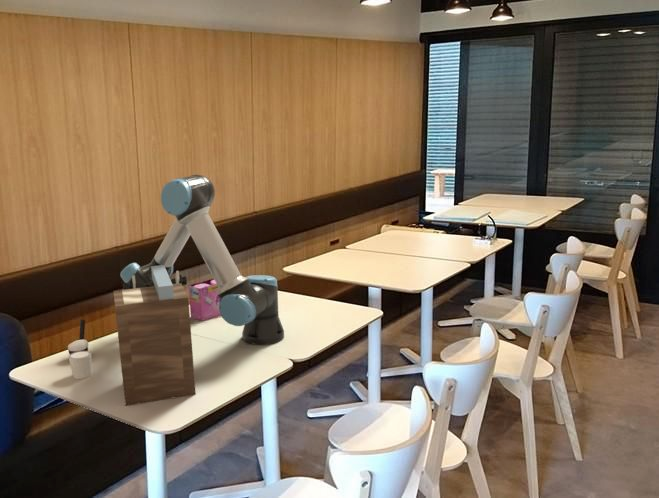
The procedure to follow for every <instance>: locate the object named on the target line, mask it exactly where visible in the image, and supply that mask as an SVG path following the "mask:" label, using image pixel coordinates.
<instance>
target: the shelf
mask: <svg viewBox="0 0 659 498" xmlns="http://www.w3.org/2000/svg"><path fill="white" fill-rule="evenodd" d="M172 285H173V294H174V299H168V300H159V297H158V294H157V291H156V288H155V286H152V287H143V288H135V289H126V290H124V289H119V290H113V299H114V308H115V318H116V327H117V330H116V331H117V339H118V348H119V357H120V368H121V376H122V378H121V379H122V387H123V394H124V395H123V396H124V405H125V407H126V406H133V405H139V404H146V403H150V402H157V401H164V400H170V399H174V398H181V397H188V396H192V395H197V394H196V381H195V369H194V368H195V367H194V353H193V343H192V342H193V341H192V331H191V330H192V329H191V328H192V327H191V313H190V300H189V295H188V293H187V292H186V289H185V288H184V286H182V283H179V284H172Z"/></svg>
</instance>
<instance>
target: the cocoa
mask: <svg viewBox="0 0 659 498" xmlns="http://www.w3.org/2000/svg"><path fill="white" fill-rule="evenodd" d="M85 324H86V320H85V319H80V322H79V340H77V339H76V340H74V341H73V342H71V343H69V344H68V346H67V350H68V354H69V355H70V354H72V353H75V352H79V351H89V341H87V340H86V339H85V329H86V328H85V327H86V326H85Z"/></svg>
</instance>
